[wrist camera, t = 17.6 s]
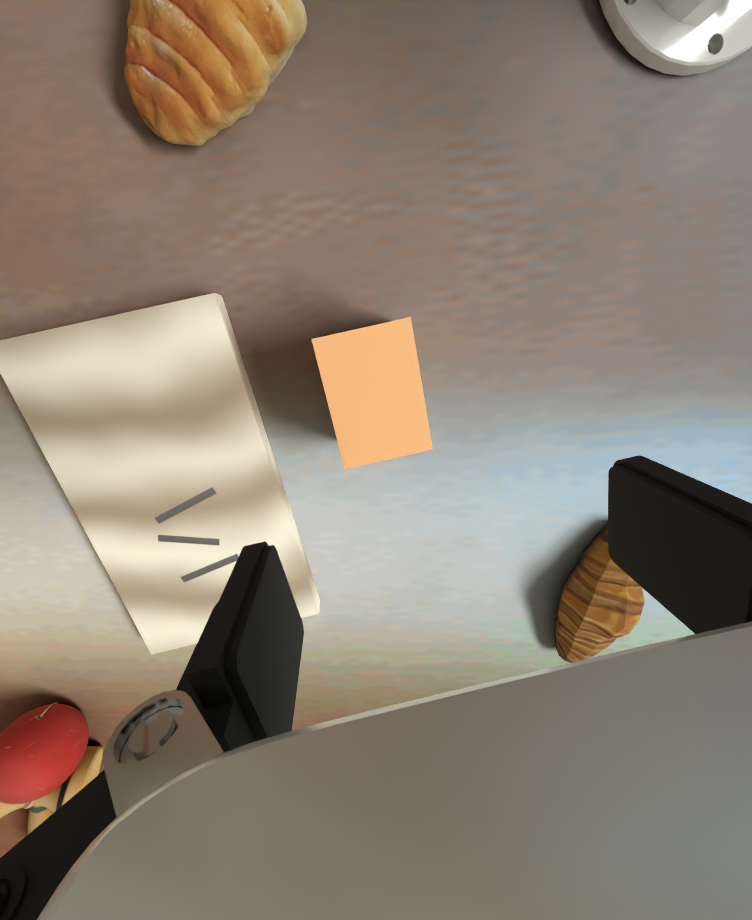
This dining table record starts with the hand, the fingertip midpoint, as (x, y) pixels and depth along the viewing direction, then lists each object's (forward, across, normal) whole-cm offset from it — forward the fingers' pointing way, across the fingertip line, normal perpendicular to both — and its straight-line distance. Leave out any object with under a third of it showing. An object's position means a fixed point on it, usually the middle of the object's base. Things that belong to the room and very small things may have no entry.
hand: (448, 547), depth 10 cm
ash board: (+16, +15, +2) cm, 22 cm away
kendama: (+16, +34, +24) cm, 45 cm away
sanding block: (+17, +1, -2) cm, 17 cm away
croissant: (+17, -14, +19) cm, 29 cm away
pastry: (+17, +4, -20) cm, 27 cm away
